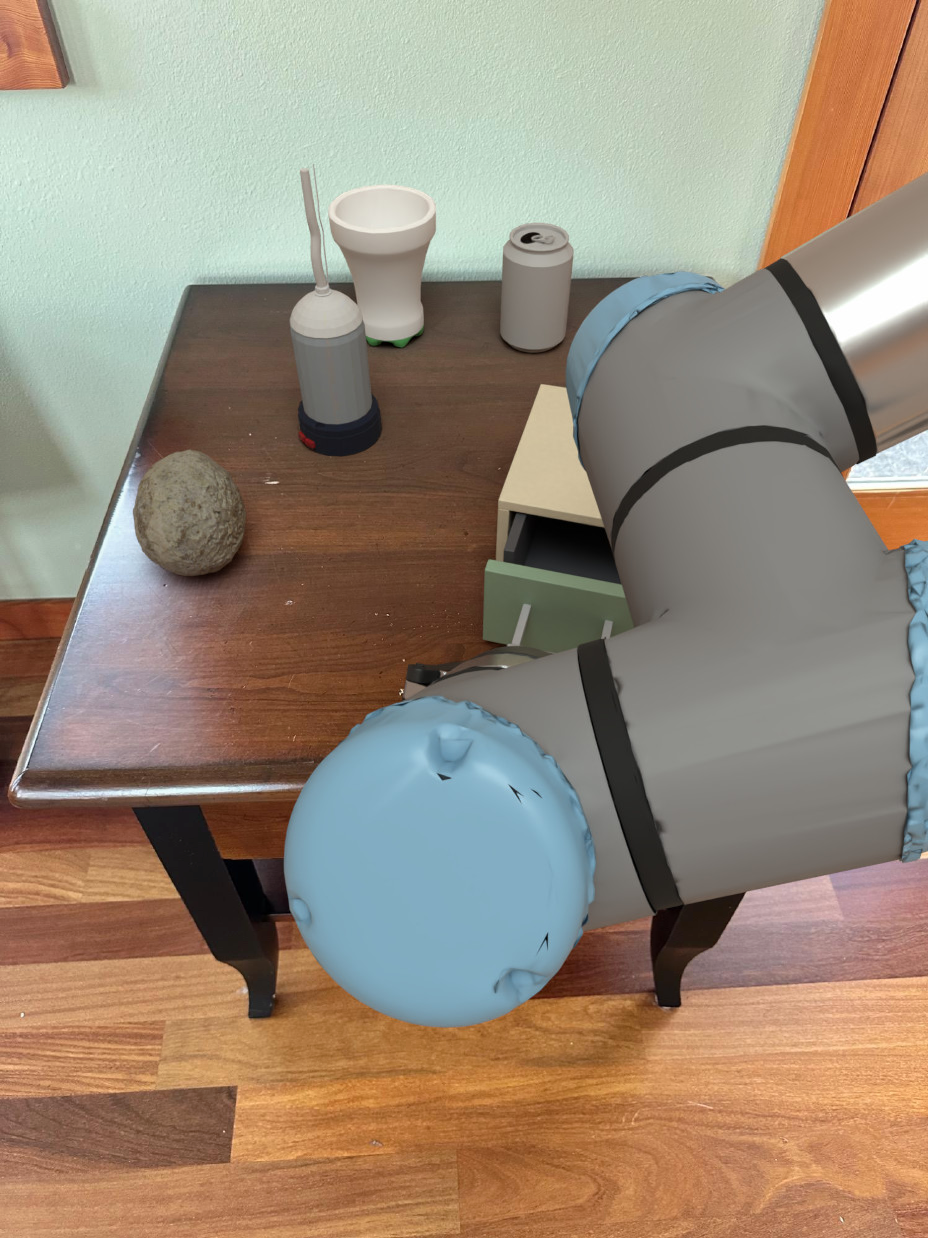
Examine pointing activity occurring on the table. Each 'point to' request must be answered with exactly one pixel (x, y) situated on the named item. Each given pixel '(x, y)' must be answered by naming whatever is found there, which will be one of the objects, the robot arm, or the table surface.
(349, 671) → the table surface
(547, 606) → the drawer
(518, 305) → the can
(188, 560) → the decorative stone
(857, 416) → the robot arm
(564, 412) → the cabinet
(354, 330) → the humidifier
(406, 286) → the cup
